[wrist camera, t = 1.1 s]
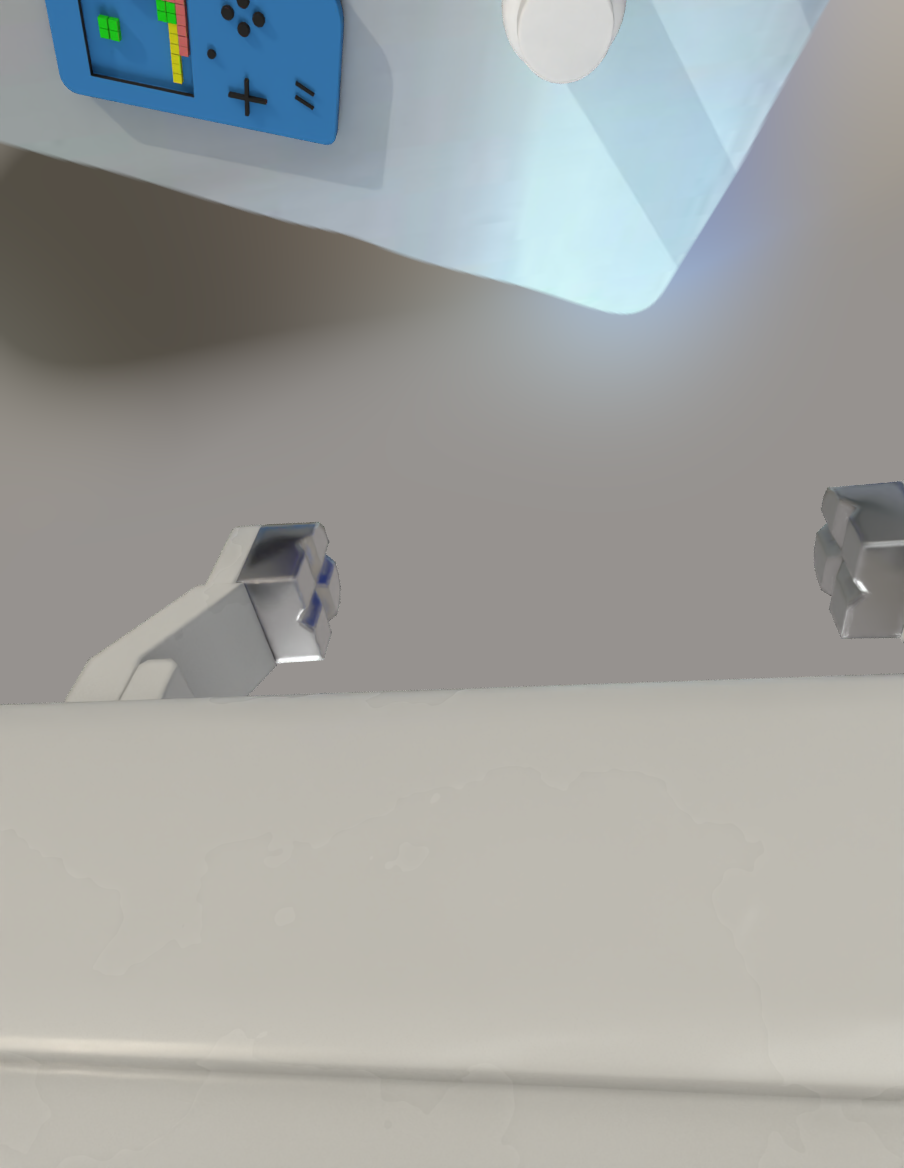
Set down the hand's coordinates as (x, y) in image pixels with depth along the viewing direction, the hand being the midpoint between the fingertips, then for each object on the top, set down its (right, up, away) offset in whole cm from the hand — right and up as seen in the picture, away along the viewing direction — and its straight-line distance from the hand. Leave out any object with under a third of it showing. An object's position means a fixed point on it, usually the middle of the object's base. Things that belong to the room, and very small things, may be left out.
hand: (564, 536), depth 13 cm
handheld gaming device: (-15, +28, +29) cm, 43 cm away
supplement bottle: (+3, +30, +26) cm, 39 cm away
